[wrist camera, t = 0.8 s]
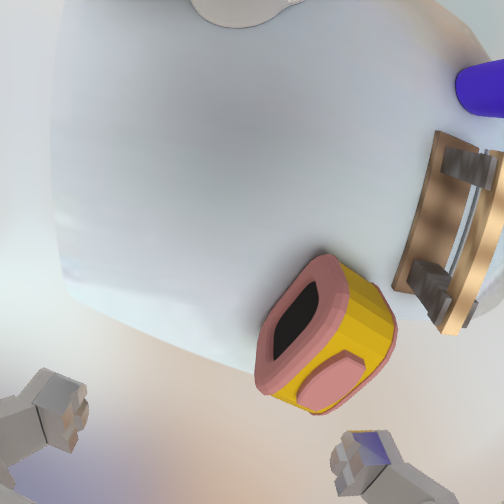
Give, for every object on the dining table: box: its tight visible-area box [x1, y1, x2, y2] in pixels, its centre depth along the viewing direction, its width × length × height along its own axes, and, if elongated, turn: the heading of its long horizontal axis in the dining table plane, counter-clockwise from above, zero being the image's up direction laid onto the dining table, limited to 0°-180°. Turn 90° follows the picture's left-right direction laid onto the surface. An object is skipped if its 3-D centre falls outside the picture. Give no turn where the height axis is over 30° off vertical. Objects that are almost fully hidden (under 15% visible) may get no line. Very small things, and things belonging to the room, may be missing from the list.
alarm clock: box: [254, 254, 398, 415], centre depth 41 cm, size 18×11×19 cm, turn 148°
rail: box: [435, 150, 504, 336], centre depth 31 cm, size 24×3×3 cm, turn 170°
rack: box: [391, 131, 498, 328], centre depth 37 cm, size 26×8×14 cm, turn 170°
